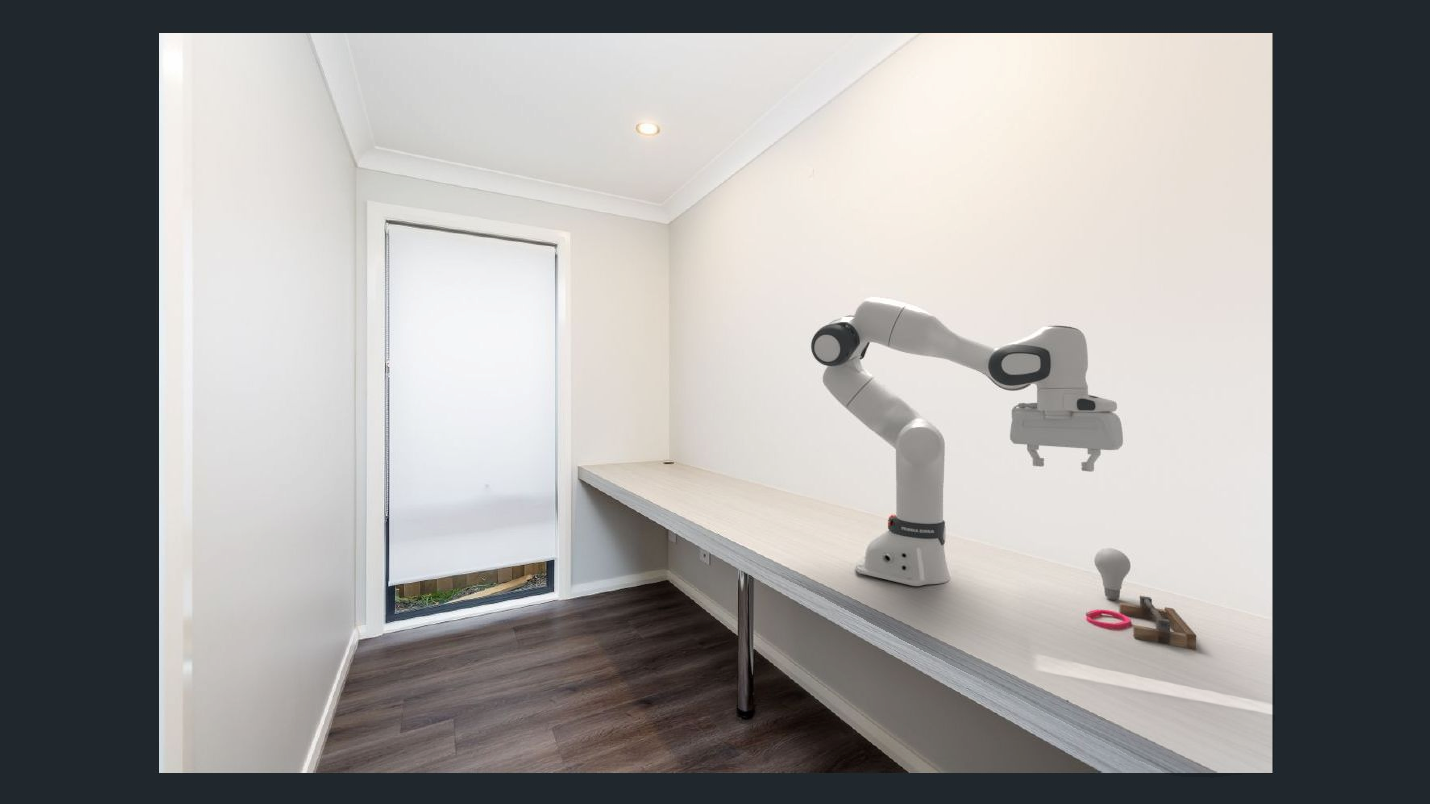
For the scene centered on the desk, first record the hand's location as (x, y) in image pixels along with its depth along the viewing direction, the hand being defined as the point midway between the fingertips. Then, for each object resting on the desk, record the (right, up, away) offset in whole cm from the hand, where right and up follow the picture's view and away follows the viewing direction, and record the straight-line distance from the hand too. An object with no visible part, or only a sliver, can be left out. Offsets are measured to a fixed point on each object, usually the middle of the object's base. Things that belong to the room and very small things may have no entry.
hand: (1062, 468), depth 105 cm
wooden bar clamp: (+9, -29, -11) cm, 32 cm away
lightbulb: (+13, -29, +3) cm, 32 cm away
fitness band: (+3, -29, -8) cm, 31 cm away
